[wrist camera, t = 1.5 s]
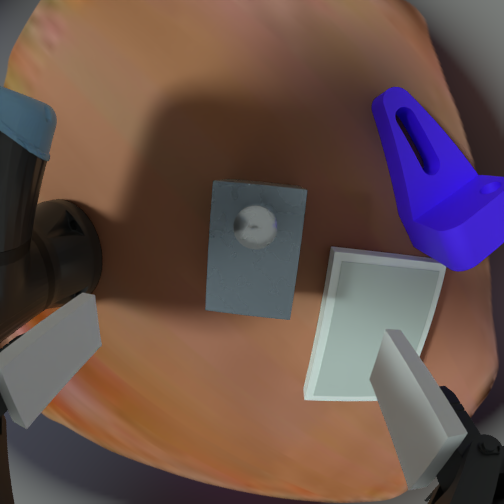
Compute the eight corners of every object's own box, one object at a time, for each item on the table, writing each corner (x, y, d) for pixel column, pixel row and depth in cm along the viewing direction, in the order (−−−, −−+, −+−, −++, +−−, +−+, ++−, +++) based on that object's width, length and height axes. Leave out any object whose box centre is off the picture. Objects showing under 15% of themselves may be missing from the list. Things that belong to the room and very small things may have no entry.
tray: (303, 388, 41) (304, 400, 38) (330, 246, 35) (334, 252, 33) (397, 389, 40) (402, 400, 37) (438, 258, 35) (447, 264, 32)
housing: (220, 283, 38) (202, 321, 28) (228, 178, 34) (210, 181, 25) (286, 290, 37) (289, 331, 27) (299, 185, 34) (308, 190, 24)
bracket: (472, 204, 33) (529, 218, 21) (413, 246, 35) (461, 276, 23) (409, 80, 29) (456, 50, 18) (341, 116, 32) (372, 92, 20)
